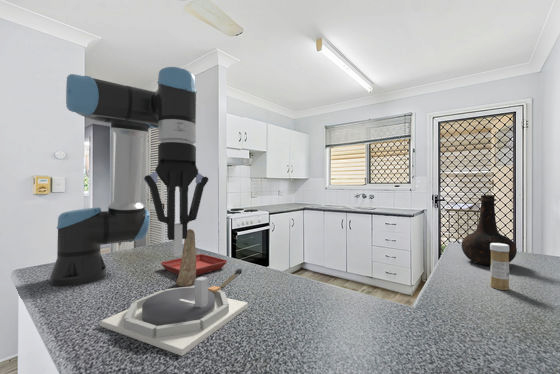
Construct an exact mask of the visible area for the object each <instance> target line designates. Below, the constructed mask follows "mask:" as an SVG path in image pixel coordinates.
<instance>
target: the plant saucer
mask: <svg viewBox="0 0 560 374" xmlns="http://www.w3.org/2000/svg"><path fill="white" fill-rule="evenodd" d="M181 259H182V257H180V258H176V259H171V260H166V261H161V262H160V265H161V266H162V267H163V268H164V269H165V270H166V271H168V272H170V273H174V274H175V275H177V276H179V270H180V265H181ZM227 263H228V260H226V259H223V258H219V257H216V256H211V255H208V254H204V253H200V254H199V253H198V254H196V276H200V275H203V274H207V273H210V272H211V273H212V272H214V271H218V270H221V269H223V267H224V266H225V265H226V264H227Z"/></svg>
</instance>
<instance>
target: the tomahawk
mask: <svg viewBox="0 0 560 374" xmlns="http://www.w3.org/2000/svg"><path fill="white" fill-rule="evenodd" d="M242 272H243V270H242V268H238V269H236V270H235V272H234V273H233V274H232V275H230V277H228V278H227V279H226V280H225V281H224V282H223V283H222V284H220V285H219V286H218V287H221V289H220V290H222V291H224V289H225V287H226V286H227V285H228V284H230V283H231V282H232V281H233V280H235V279H236V278H237V277H238V276H239V275H240V274H241V273H242Z"/></svg>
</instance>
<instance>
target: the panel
mask: <svg viewBox="0 0 560 374" xmlns="http://www.w3.org/2000/svg"><path fill="white" fill-rule="evenodd" d="M179 288H195V285H191V286H187V287H186V286H184V287H182V286H181V287H173V288H166V289H161V290H159V291H157V292H156V291H155V292H154V293H153V292H152V293H151V294H148V295H146V296H144V297H141V298H139V299H136V300H134V301H133V302H131V303H130V305H129V307H128V309H126V310H123V311H121V312H119V313H116V314H113V315H112V316H109V317H106V318H104V319H102V320H100V327H102V328H104V329H106V330H107V329H108V330H111V331H113V332H115V333H119V334H120V335H124V336H126V337H129V338H132V339H134V340H138V341H140V342H143V343H144V344H145V343H146V344H148V345H151V346H153V347H157V348H159V349H162V350H164V351H168V352H170V353H173V354H176V355H178V356H182V357H183V356H185V354H187V353H189V352H190V351H191V350H192V349H194V348H195V347H197V346H198V345H199V344H201V343H202V342H203V341H205V340H206V339H208V338H209V337H210V336H211V335H213V334H214V333H215V332H217V331H218V330H220V329H221V328H223V327H224V326H225V325H226V324H228V323H229V322H231V321H232V320H233V319H235V318H236V317H237V316H239V315H240V314H241V313H242V312H244V311H245V310H247V309H248V308H249V302H246V301H242V300H237V299H234V298H227V295H226V292H225V291H224V290H220V289H221V287H219V286H216V285H212V286H210V287H208V290H209V291H211V292H212V293H213V294H214V295H215V308H214V311H213V312H211V313H209V314H208V315H206V316H205V317H203V318H201V319H200V320H194V321H187V322H181V323H174V324H168V325H161V326H155V325H152V324H149V323H146V322H144V321H143V320H142V305H143V303H144V302H145V301H146V300H147V299H148V298H150V297H152V296H154V295H156V294H158V293H161V292H164V291H168V290H173V289H179Z"/></svg>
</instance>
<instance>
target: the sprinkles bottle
mask: <svg viewBox="0 0 560 374" xmlns="http://www.w3.org/2000/svg"><path fill="white" fill-rule="evenodd" d="M490 249H491V266H490V287H491V288H494V289H497V290H501V291H508V290H510V287H509V286H510V262H509V245H507V244H502V243H491V244H490Z"/></svg>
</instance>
